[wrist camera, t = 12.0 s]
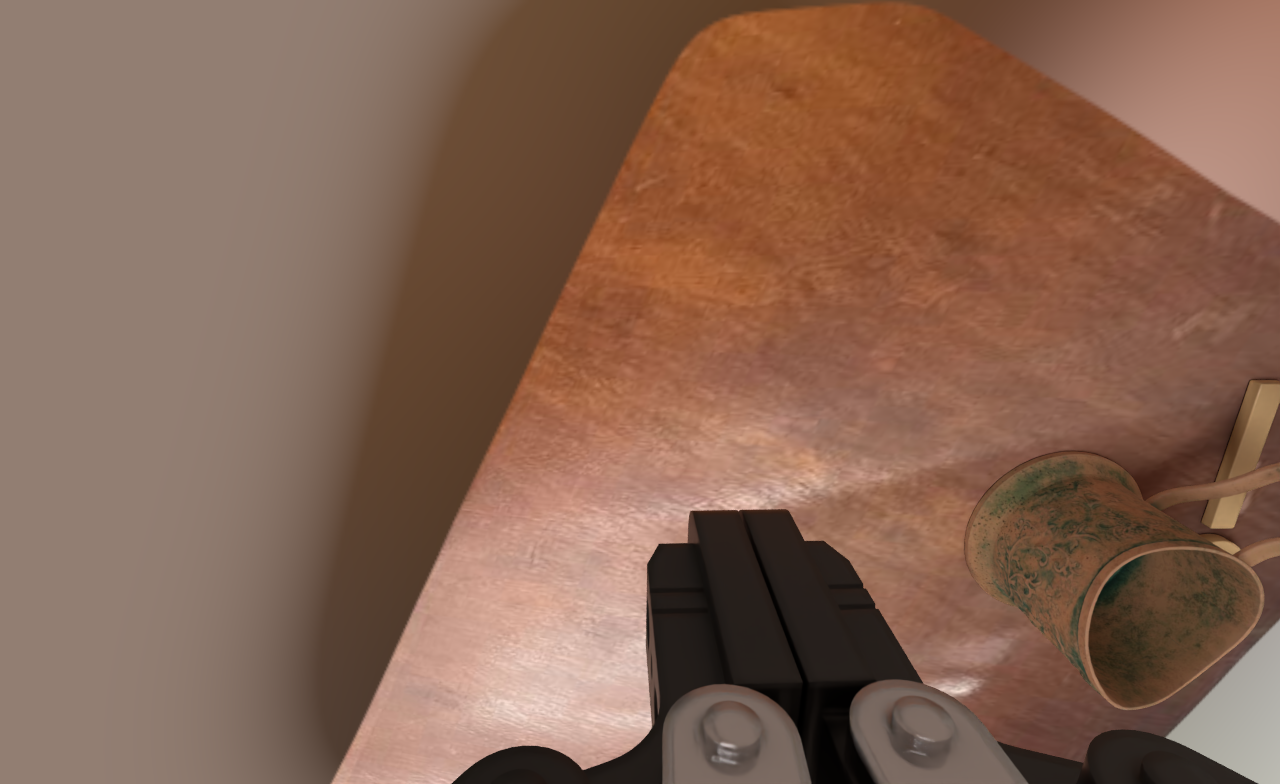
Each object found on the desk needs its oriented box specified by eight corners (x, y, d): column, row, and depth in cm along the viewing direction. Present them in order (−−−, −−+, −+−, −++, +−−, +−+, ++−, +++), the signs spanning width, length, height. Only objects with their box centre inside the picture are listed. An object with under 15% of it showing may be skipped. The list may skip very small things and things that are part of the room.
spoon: (1227, 379, 39) (1242, 384, 38) (1296, 379, 39) (1313, 384, 38) (1157, 589, 44) (1169, 598, 43) (1219, 587, 44) (1232, 597, 43)
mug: (1252, 474, 41) (1494, 589, 30) (1022, 632, 45) (1161, 790, 34) (1171, 350, 38) (1406, 426, 27) (930, 530, 42) (1049, 666, 30)
